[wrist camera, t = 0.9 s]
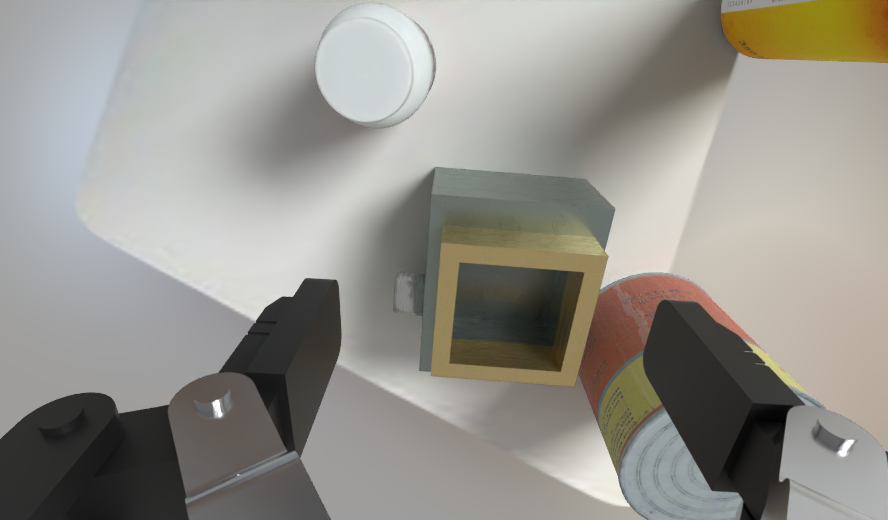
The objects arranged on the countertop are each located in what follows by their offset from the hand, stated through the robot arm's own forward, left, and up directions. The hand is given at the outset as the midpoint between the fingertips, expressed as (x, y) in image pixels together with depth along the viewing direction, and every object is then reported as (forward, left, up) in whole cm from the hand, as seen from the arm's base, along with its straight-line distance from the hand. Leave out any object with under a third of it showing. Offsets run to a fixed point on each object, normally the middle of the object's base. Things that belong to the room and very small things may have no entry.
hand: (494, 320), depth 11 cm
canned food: (+13, +15, -20) cm, 28 cm away
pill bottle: (-5, -5, -20) cm, 21 cm away
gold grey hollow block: (+7, +2, -20) cm, 21 cm away
